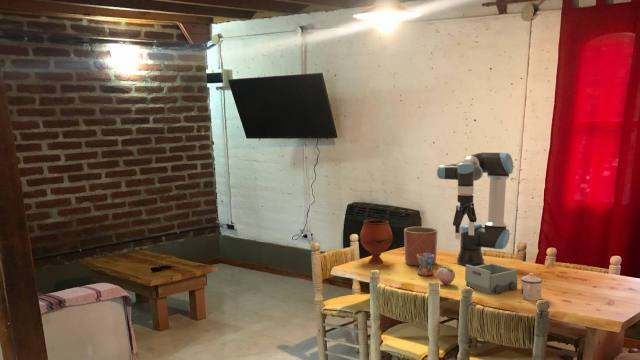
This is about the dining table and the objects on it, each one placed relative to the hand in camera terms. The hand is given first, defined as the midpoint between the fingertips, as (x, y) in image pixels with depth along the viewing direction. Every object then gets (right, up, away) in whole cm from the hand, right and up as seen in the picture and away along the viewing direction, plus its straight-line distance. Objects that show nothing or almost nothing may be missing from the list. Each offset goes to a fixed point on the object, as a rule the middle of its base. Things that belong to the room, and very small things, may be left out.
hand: (464, 237), depth 258 cm
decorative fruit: (-8, -25, +6) cm, 27 cm away
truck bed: (+13, -25, +1) cm, 28 cm away
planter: (-13, -21, +48) cm, 54 cm away
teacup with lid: (+25, -27, -18) cm, 41 cm away
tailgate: (+5, -22, -4) cm, 23 cm away
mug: (-14, -23, +26) cm, 37 cm away
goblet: (-38, -21, +51) cm, 67 cm away
